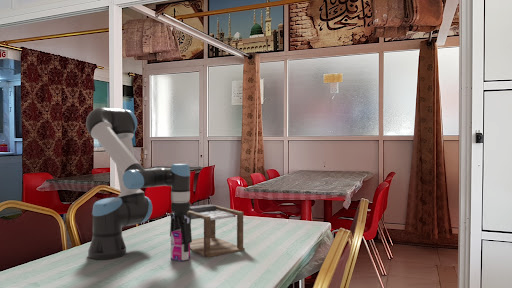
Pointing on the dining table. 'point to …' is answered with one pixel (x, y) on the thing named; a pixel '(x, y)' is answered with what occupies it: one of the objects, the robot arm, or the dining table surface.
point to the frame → (213, 245)
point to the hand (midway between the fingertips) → (180, 257)
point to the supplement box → (177, 245)
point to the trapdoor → (209, 212)
